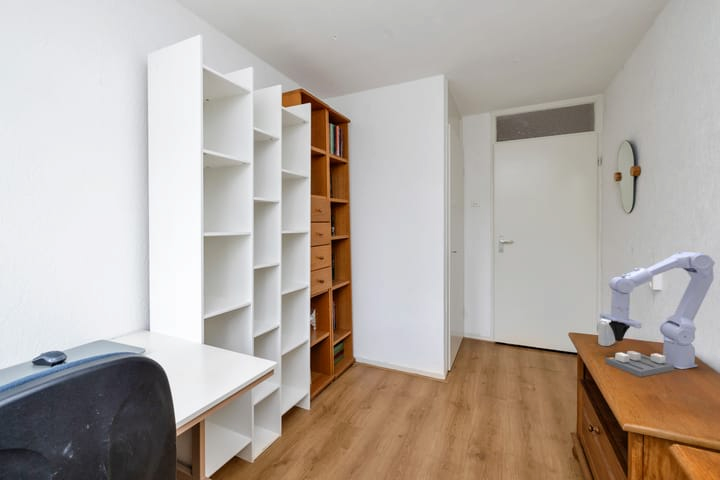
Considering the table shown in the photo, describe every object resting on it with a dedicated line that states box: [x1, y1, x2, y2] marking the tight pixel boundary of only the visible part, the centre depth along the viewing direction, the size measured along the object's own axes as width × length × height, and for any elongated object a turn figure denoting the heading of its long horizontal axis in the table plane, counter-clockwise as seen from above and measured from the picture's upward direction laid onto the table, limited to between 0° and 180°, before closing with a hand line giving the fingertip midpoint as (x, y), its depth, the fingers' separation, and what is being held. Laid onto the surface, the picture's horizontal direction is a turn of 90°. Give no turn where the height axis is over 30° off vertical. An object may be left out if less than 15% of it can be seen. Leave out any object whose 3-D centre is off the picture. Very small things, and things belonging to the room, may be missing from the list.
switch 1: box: [614, 352, 630, 362], centre depth 123 cm, size 3×3×2 cm
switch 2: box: [650, 352, 666, 363], centre depth 122 cm, size 3×3×2 cm
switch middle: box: [626, 350, 642, 361], centre depth 125 cm, size 3×3×2 cm
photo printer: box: [597, 318, 617, 347], centre depth 147 cm, size 10×4×12 cm, turn 123°
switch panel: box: [605, 353, 675, 378], centre depth 123 cm, size 20×12×2 cm, turn 107°
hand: (618, 340), depth 130 cm, fingers closed
